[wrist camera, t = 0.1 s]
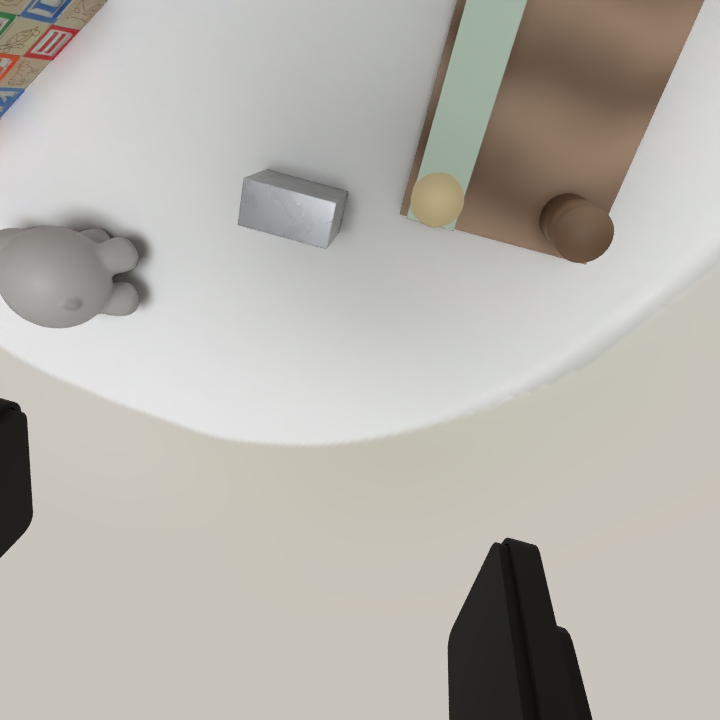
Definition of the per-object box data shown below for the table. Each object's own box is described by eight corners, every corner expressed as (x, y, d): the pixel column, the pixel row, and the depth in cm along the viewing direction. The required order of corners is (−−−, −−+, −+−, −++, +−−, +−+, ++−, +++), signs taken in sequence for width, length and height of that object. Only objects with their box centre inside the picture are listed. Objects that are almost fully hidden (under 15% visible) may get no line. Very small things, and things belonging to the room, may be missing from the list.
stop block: (266, 169, 38) (243, 178, 33) (347, 191, 38) (336, 203, 33) (260, 211, 39) (237, 224, 35) (338, 232, 39) (326, 248, 35)
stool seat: (513, -207, 28) (535, -296, 22) (754, -144, 28) (847, -216, 21) (401, 208, 38) (394, 229, 32) (578, 256, 38) (607, 287, 31)
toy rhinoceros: (47, 191, 43) (-73, 193, 36) (151, 239, 39) (38, 252, 32) (49, 274, 47) (-62, 291, 39) (145, 326, 42) (41, 356, 35)
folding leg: (453, 222, 36) (454, 233, 33) (406, 210, 36) (404, 219, 33) (539, -51, 29) (550, -67, 26) (482, -65, 29) (487, -84, 26)
